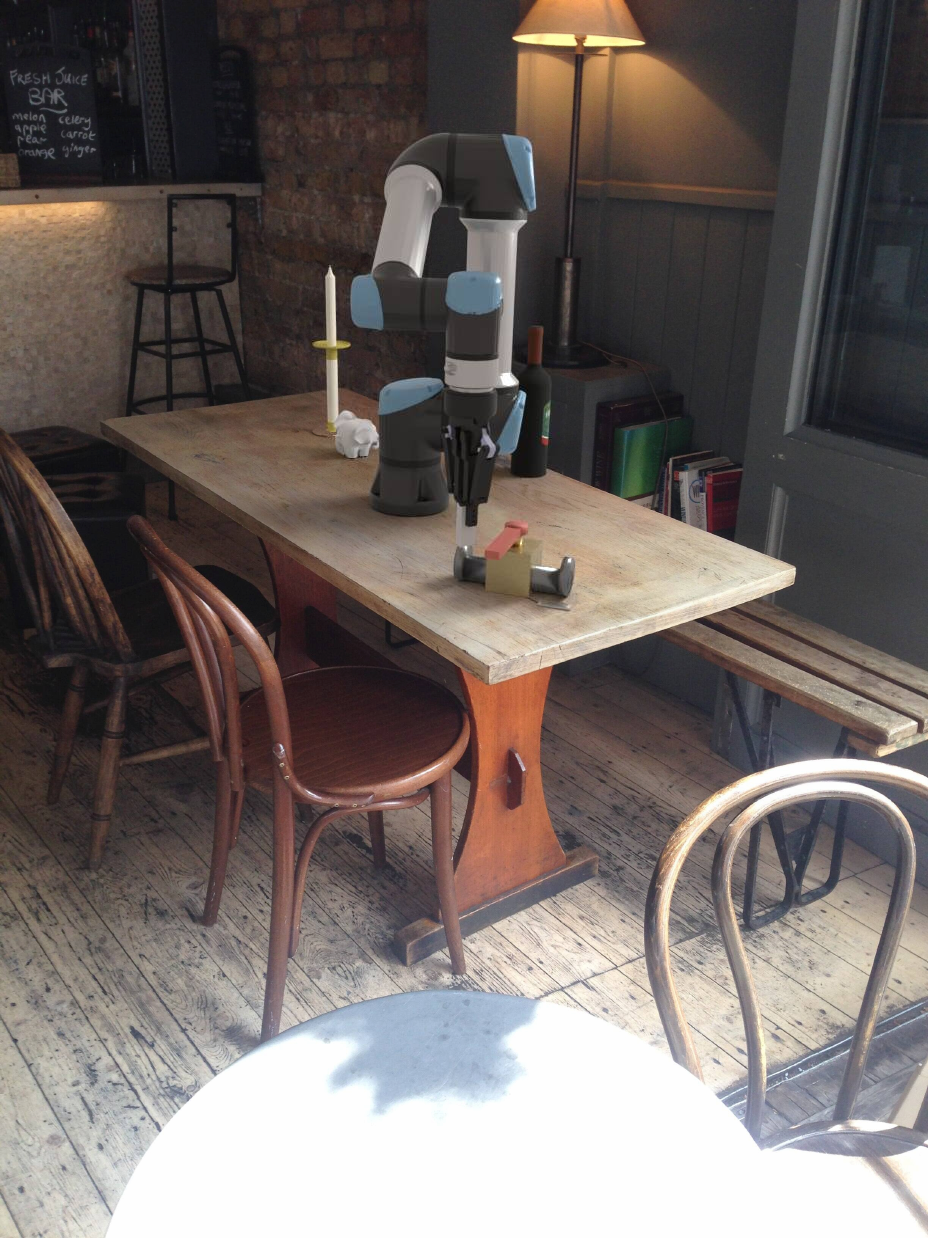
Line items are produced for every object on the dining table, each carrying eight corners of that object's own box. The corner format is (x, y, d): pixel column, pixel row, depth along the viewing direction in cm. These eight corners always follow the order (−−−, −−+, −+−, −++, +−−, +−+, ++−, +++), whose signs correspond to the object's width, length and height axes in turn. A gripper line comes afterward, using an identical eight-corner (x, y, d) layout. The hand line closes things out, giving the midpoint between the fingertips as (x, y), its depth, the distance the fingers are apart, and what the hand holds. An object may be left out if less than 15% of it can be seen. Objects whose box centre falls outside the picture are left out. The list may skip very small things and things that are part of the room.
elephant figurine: (393, 456, 238) (393, 415, 235) (344, 463, 232) (343, 422, 229) (371, 445, 246) (371, 406, 242) (323, 452, 239) (322, 412, 236)
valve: (446, 590, 169) (448, 537, 166) (466, 570, 177) (467, 519, 174) (569, 610, 164) (573, 555, 160) (583, 588, 172) (587, 536, 168)
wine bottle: (508, 467, 233) (515, 323, 221) (543, 467, 234) (552, 323, 221) (512, 477, 226) (519, 329, 214) (548, 477, 227) (558, 330, 215)
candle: (352, 438, 251) (350, 267, 236) (308, 436, 251) (303, 266, 236) (356, 427, 260) (355, 262, 245) (314, 426, 260) (310, 261, 245)
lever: (508, 527, 170) (508, 519, 170) (530, 530, 169) (530, 522, 169) (479, 557, 158) (480, 549, 157) (503, 560, 157) (504, 552, 156)
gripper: (425, 380, 158) (422, 535, 167) (472, 398, 147) (467, 562, 157) (469, 376, 161) (464, 528, 171) (518, 393, 151) (510, 554, 161)
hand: (465, 544), depth 164 cm, fingers closed
